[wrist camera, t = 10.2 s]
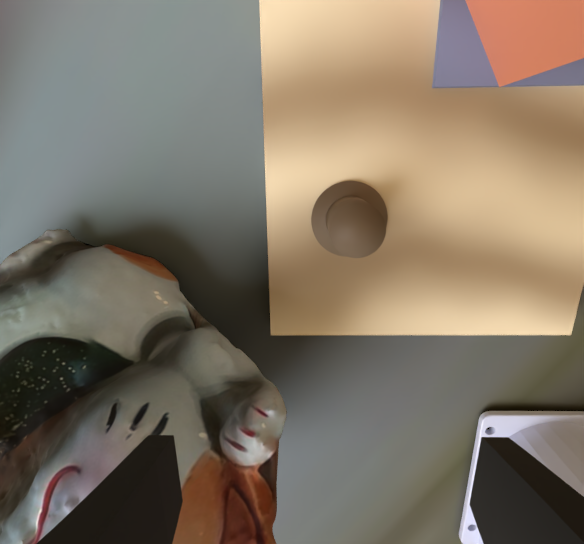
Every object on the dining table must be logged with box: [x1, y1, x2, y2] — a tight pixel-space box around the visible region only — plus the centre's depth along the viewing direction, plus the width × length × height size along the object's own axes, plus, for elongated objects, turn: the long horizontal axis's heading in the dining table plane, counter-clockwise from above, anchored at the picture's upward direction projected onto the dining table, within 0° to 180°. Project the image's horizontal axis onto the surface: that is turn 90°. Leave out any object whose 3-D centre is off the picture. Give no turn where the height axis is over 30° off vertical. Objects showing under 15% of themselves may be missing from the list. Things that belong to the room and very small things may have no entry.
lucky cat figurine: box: [0, 229, 287, 544], centre depth 14 cm, size 15×12×14 cm
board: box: [259, 0, 584, 335], centre depth 13 cm, size 19×14×4 cm
